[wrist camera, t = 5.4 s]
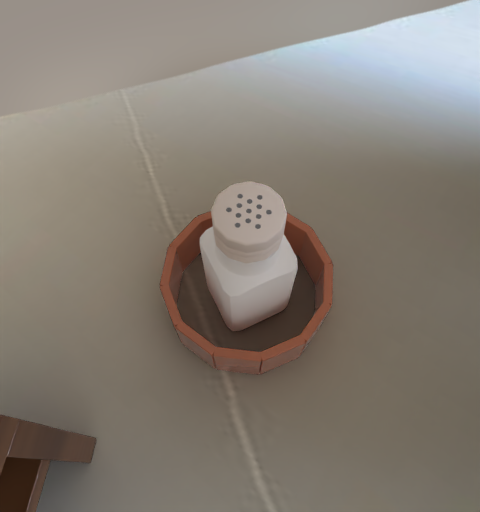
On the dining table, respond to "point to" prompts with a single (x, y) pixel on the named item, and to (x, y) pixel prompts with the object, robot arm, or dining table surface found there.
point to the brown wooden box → (33, 459)
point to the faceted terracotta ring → (236, 359)
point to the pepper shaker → (248, 255)
